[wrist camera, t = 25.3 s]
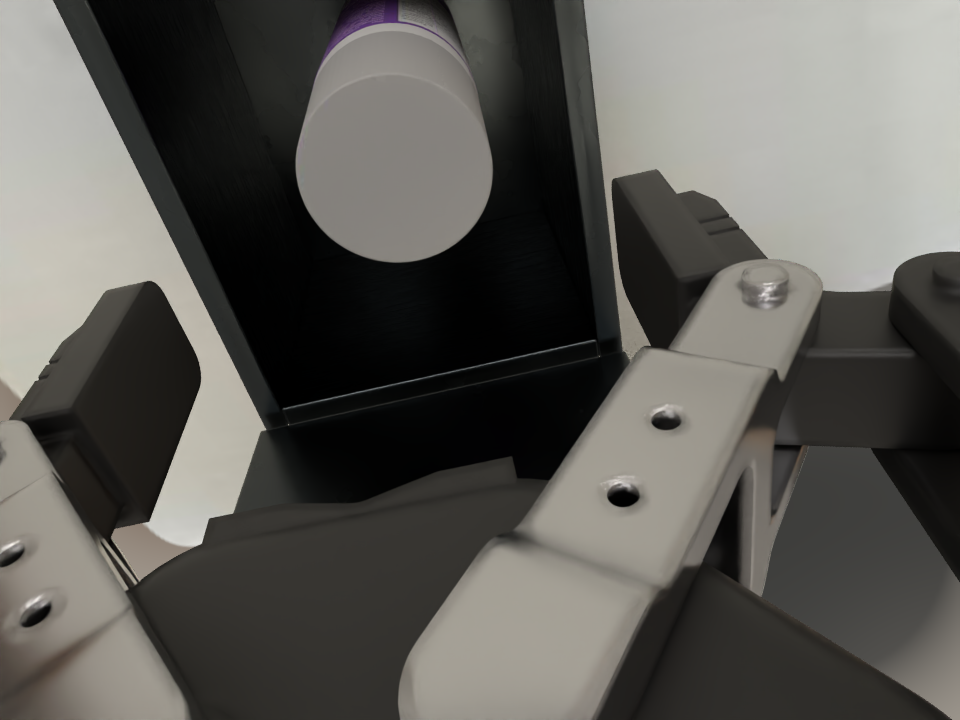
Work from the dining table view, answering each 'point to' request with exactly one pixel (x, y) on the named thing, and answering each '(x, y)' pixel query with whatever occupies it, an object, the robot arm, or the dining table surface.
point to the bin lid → (431, 436)
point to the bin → (320, 260)
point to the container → (394, 134)
